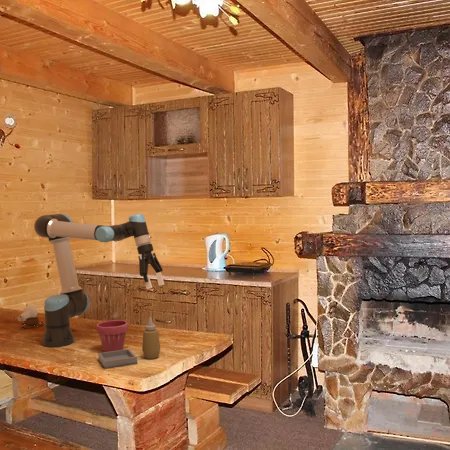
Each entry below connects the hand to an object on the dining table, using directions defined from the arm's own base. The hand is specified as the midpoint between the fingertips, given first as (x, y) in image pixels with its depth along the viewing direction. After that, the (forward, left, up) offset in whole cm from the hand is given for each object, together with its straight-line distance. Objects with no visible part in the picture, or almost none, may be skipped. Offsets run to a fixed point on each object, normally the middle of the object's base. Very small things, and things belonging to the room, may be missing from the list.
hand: (155, 287), depth 257 cm
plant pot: (+1, -22, -28) cm, 36 cm away
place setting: (-67, -51, -29) cm, 89 cm away
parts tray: (+20, -24, -28) cm, 42 cm away
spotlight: (-87, -55, -28) cm, 107 cm away
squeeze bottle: (+21, -9, -28) cm, 36 cm away
